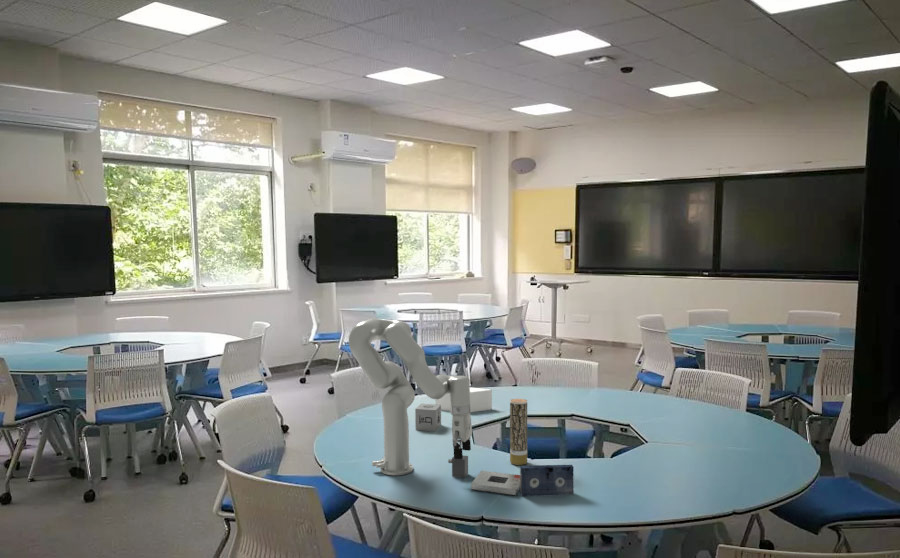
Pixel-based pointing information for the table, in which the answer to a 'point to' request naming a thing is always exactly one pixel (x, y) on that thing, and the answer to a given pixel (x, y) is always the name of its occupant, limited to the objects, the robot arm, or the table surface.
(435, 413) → the icon cube
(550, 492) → the vhs cassette tape
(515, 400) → the paper tube
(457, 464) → the plug
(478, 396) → the block
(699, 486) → the table surface
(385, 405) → the robot arm
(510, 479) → the socket plate
